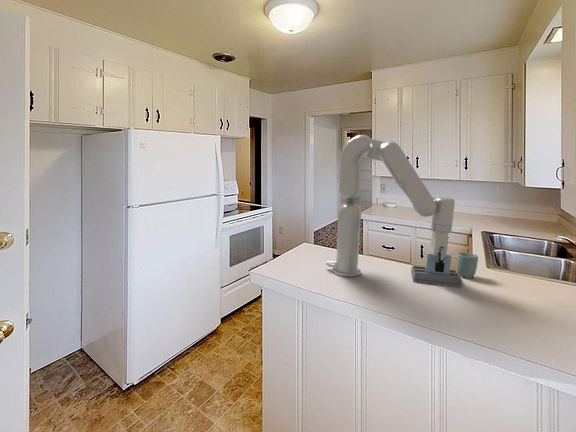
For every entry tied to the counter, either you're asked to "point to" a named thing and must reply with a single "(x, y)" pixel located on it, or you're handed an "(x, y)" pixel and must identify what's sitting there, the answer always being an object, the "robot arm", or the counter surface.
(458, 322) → the counter surface
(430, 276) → the rack
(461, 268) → the cup
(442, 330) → the counter surface
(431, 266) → the light blue upright panel
